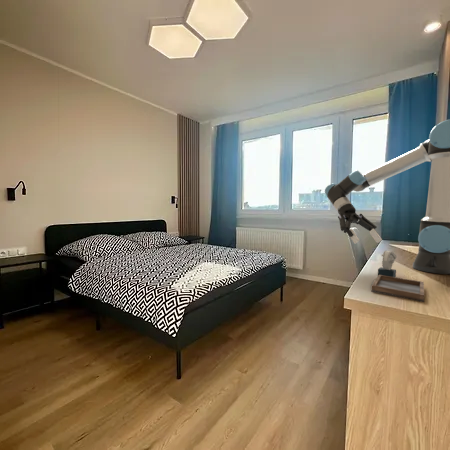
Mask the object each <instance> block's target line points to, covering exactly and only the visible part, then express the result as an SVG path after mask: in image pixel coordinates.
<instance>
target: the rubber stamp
mask: <svg viewBox="0 0 450 450" xmlns="http://www.w3.org/2000/svg"><path fill="white" fill-rule="evenodd" d="M381 257H382V261H381V266H382V267H381V266H380V267H379V268H378V269H377V276H378V275H384V276H390V277H396V276H397V274H396V273H397V269H393V265H394V263H395V261H396V259H397V254H396V253H395V251H391V250H384V251H383V252H382V254H381Z"/></svg>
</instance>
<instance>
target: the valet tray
mask: <svg viewBox="0 0 450 450" xmlns="http://www.w3.org/2000/svg"><path fill="white" fill-rule="evenodd" d="M424 286H425V284H424V281H421V280H420V281H419V280H414V279H408V278H401V277H398V276H397V277H390V276H384V275H378V274H377V275H376V278H375V279H374V280H373V283H372V284H371V289H370V291H371V292H372V293H376V294H377V293H378V294H381V295H387V296H391V297H396V298H402V299H407V300H412V301H414V302H415V301H416V302H419V303H420V302H421V303H424V302H425V287H424Z"/></svg>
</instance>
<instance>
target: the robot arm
mask: <svg viewBox="0 0 450 450" xmlns="http://www.w3.org/2000/svg"><path fill="white" fill-rule="evenodd" d="M425 162H429V163H430V164H431V165H430V173H429V174H430V175H429V183H428V189H427V190H428V192H427V200H426V201H427V202H426V210H425V216H424V217H423V218H421V219H420V222H419V223H420V225H419V233H418V237H417V241H418V251H417V254H416V256H415V259H414V261H413V262H412V268H413V269H414V270H418V271H421V272H425V273H431V274H439V275H440V274H441V275H450V119H446V120H443V121H440V122H439V123H437V124H436V125H435V126H434V127H433V128H432V129H431V130H430V133H429V136H428V139H427V140H425V141H424V142H422V143H420V144H419V146H417V147H416V148H415V149H412V150H410V151H408V152H406V153H404V154H402V155H400V156H398V157H396V158H393V159H391V160H389V161H387V162H384V163H383V164H381V165H379V166H377V167H375V168H372V169H370V170H368V171H366V172H365V173H362V172H360V171H359V170H358V169H355V170H353V171H352V172H350V173H349V174H348V175H347V176H346V177H345V178H343V179H342V180H341V181H340V182H338V183H331V184H328V185H327V186H326V187H325V189H324V194H325V195H326V198H328V200H329V201H330V203H331V204H332V206H333V207H334V209H335V210H336V211H337V213H338V216H337V218H338V220H339V226H340V231H341V232H343V233H344V234H347V235H348V237H349V238H350V239H351V241H352V242H353V243H354V244H355V245H356V244H357V243H359V241H360V238H359V237H358V236H357V234H356V232H355V231H354V229H353V228H351V226H352V224H356V225H359V226H361V227H362V228H364V229H365V230H367V231H369V232H368V233H369V235H370V236H371V237H372V239H374V241H375V243H376V244H379V243H380V242H381V241H382V240H383V238H382V237H381V236H380V235H379V233H378V232H377V230H376V229H377V226H376V225H375V224H374V223H373V222H371V221H370V220H369V219H368V218H366V217H365V216H364V215H363V214H362V213H359V214H357V213H356V211H357V210H356V208H355V206H354V205H353V204H352V203H351V201H350V200H349V198H348V197H347V196H348V195H349V194H350V193H352V192H356V193H357V192H362V191H364V190H366V189H367V188H369V187H371V186H373V185H375V184H378V183H380V182H383V181H385V180H386V179H389V178H391V177H393V176H396V175H398V174H400V173H403V172H405V171H407V170H409V169H412V168H413V167H416V166H418V165H421V164H423V163H425Z"/></svg>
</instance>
